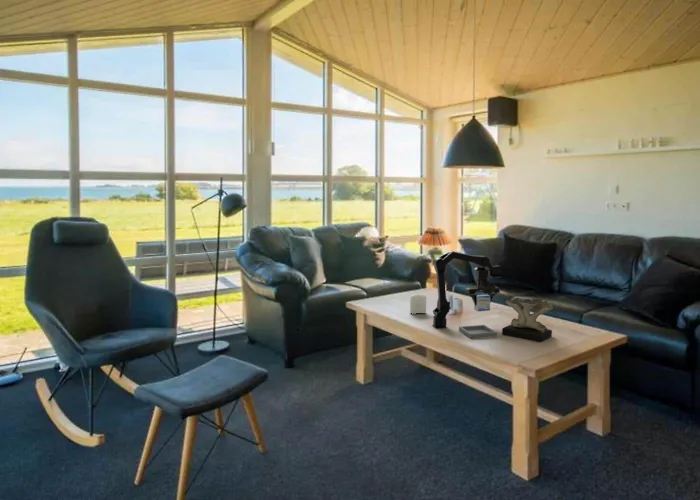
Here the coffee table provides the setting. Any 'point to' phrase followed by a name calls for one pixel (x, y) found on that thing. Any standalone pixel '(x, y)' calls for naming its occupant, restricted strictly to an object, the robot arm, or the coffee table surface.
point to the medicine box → (482, 303)
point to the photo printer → (417, 303)
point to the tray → (477, 331)
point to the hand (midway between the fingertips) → (482, 305)
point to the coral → (528, 320)
